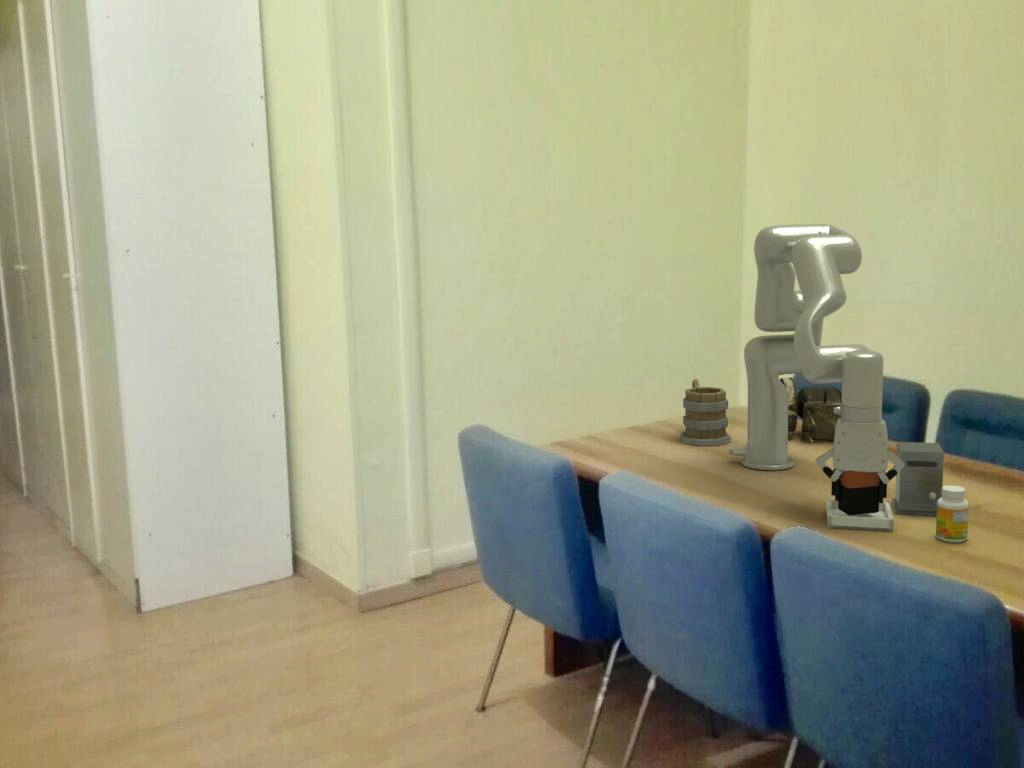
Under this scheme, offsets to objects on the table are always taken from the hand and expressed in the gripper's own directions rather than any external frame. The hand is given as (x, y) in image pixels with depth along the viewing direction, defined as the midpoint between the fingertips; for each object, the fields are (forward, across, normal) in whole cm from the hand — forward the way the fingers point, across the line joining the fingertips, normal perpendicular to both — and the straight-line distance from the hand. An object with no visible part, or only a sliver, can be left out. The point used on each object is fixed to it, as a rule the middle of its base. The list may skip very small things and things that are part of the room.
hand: (858, 499), depth 195 cm
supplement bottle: (+4, +16, -8) cm, 19 cm away
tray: (+4, 0, 0) cm, 4 cm away
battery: (+3, 0, 0) cm, 3 cm away
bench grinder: (+5, -6, +71) cm, 71 cm away
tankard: (+5, -37, +67) cm, 76 cm away
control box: (+4, +12, +10) cm, 16 cm away
